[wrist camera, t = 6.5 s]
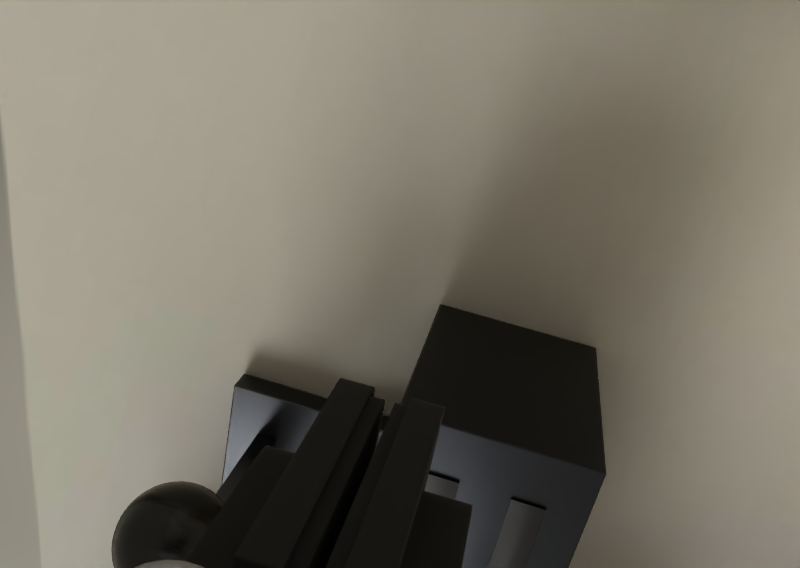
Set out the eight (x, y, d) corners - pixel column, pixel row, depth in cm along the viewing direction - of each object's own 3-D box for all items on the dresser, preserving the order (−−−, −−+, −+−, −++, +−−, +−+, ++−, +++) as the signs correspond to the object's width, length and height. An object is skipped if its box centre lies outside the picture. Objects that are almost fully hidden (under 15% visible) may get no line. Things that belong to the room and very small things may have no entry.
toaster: (440, 303, 32) (396, 412, 24) (596, 347, 31) (607, 475, 23) (380, 540, 38) (327, 693, 30) (510, 582, 37) (494, 751, 29)
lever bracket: (244, 373, 36) (89, 557, 24) (399, 419, 35) (316, 634, 23) (225, 512, 39) (82, 730, 28) (365, 558, 39) (278, 803, 27)
